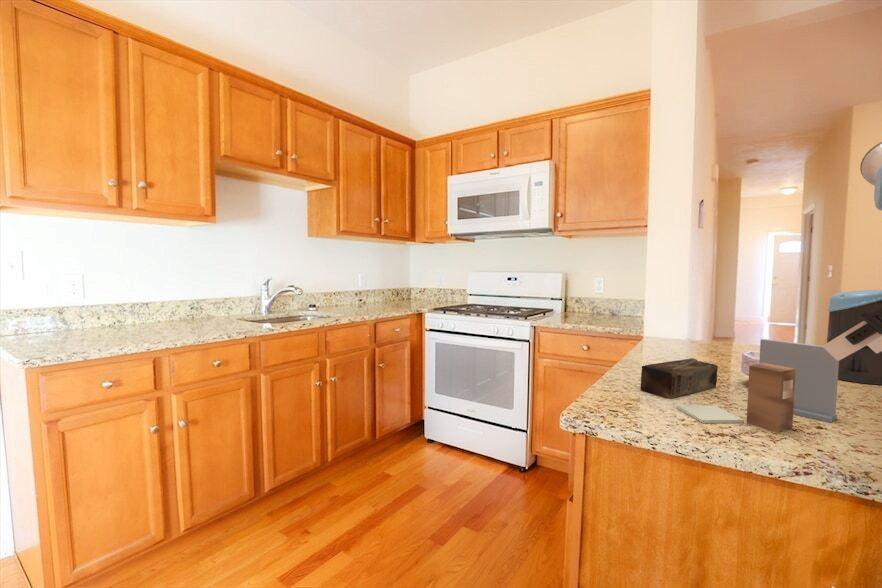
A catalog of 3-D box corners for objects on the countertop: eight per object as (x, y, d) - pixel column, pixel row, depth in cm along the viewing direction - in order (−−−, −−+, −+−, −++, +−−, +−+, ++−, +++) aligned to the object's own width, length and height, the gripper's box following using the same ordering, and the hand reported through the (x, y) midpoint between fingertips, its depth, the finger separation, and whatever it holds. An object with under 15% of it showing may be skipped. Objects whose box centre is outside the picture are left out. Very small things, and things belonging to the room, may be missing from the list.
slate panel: (754, 404, 86) (758, 340, 85) (762, 401, 88) (765, 338, 87) (830, 422, 76) (835, 349, 75) (837, 418, 78) (841, 347, 77)
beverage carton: (718, 388, 98) (720, 362, 98) (670, 401, 90) (671, 371, 89) (686, 380, 105) (687, 355, 105) (638, 391, 97) (639, 364, 96)
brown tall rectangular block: (761, 418, 79) (764, 362, 78) (792, 427, 74) (796, 368, 73) (746, 422, 76) (749, 365, 76) (778, 432, 72) (781, 371, 71)
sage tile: (714, 408, 84) (714, 405, 84) (743, 422, 76) (744, 419, 76) (676, 408, 84) (676, 405, 84) (702, 423, 76) (702, 420, 76)
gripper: (1029, 273, 43) (834, 378, 57) (1079, 274, 53) (905, 362, 68) (954, 228, 47) (791, 335, 62) (1014, 237, 58) (864, 327, 72)
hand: (850, 349), depth 65 cm, fingers open, 13 cm apart
